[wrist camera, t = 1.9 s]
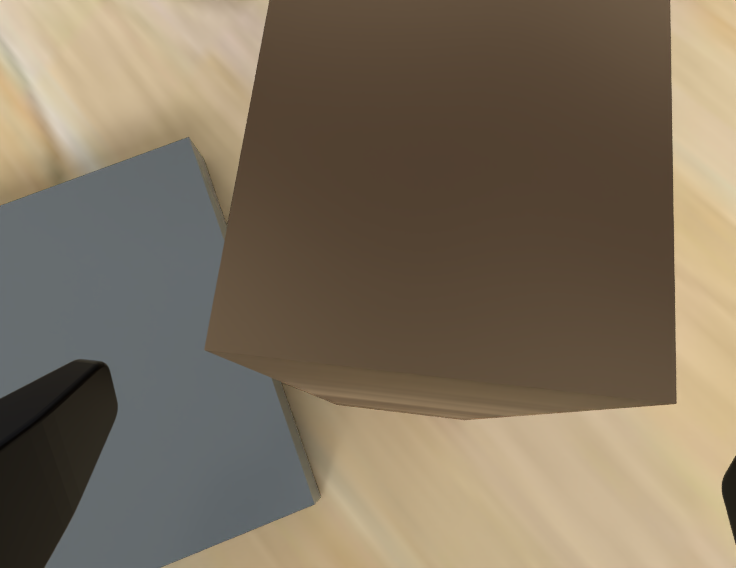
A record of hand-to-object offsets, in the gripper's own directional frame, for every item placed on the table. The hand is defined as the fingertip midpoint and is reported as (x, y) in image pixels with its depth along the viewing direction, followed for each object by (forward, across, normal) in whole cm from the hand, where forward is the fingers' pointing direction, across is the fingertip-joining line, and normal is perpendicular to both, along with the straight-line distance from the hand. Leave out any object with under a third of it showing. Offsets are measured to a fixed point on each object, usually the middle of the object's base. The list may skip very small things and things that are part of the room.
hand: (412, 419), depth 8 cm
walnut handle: (+8, 0, +5) cm, 10 cm away
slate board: (+6, +12, +7) cm, 15 cm away
